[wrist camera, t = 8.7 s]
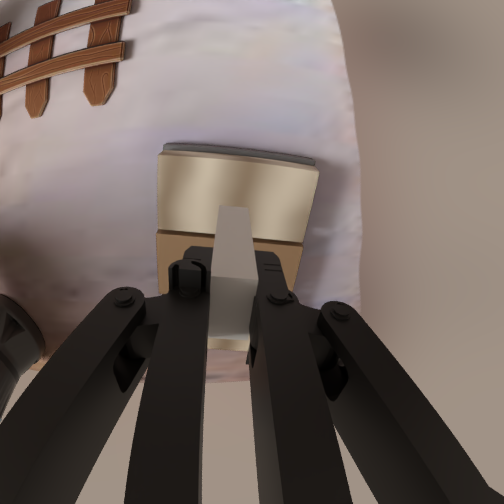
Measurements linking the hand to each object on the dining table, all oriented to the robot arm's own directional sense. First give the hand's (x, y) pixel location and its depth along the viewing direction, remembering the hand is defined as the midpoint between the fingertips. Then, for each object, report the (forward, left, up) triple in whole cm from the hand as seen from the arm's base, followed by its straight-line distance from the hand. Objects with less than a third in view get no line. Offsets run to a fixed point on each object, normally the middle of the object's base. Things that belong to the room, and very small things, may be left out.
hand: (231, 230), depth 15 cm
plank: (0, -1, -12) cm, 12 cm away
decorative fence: (-24, +14, -14) cm, 31 cm away
